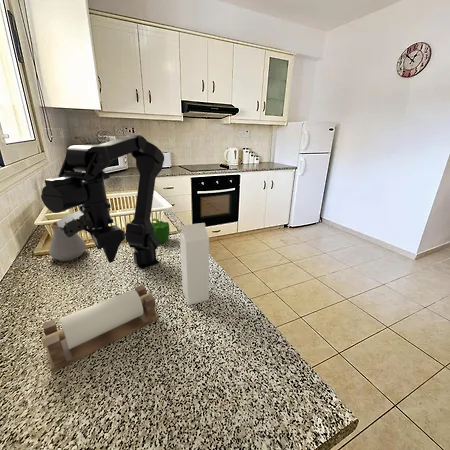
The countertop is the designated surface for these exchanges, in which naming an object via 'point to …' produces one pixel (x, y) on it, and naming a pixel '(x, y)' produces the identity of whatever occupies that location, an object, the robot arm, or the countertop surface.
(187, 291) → the milk
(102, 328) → the kitchen roll
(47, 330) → the bracket
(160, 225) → the bell pepper
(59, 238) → the coffee pot
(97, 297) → the countertop surface
